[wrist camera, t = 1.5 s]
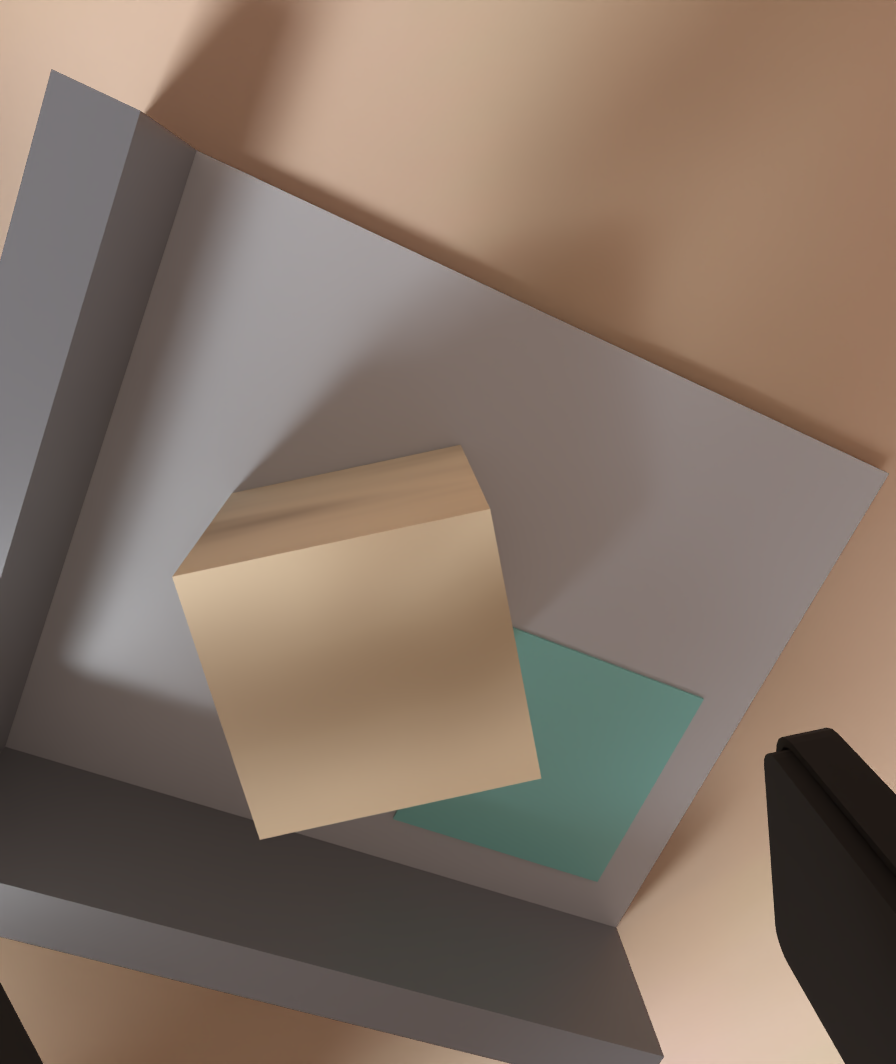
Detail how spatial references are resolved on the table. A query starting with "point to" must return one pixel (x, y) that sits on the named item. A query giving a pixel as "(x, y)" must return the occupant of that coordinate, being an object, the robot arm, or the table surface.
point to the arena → (326, 446)
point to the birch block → (360, 642)
